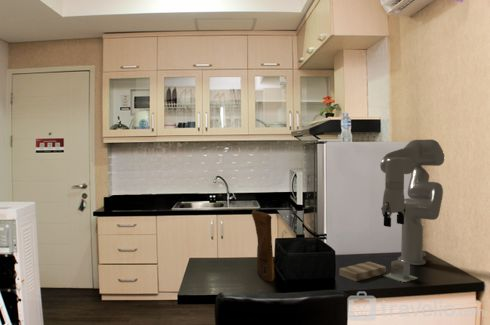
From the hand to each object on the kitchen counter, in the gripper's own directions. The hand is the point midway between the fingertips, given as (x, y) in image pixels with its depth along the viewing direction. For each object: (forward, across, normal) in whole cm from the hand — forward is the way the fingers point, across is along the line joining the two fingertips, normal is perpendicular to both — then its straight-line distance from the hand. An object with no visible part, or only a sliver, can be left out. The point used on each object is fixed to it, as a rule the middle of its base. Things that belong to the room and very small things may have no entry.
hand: (393, 225), depth 156 cm
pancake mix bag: (+22, +48, -31) cm, 61 cm away
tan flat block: (+22, +10, -8) cm, 26 cm away
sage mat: (+22, 0, +3) cm, 23 cm away
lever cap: (+22, 0, +3) cm, 22 cm away
